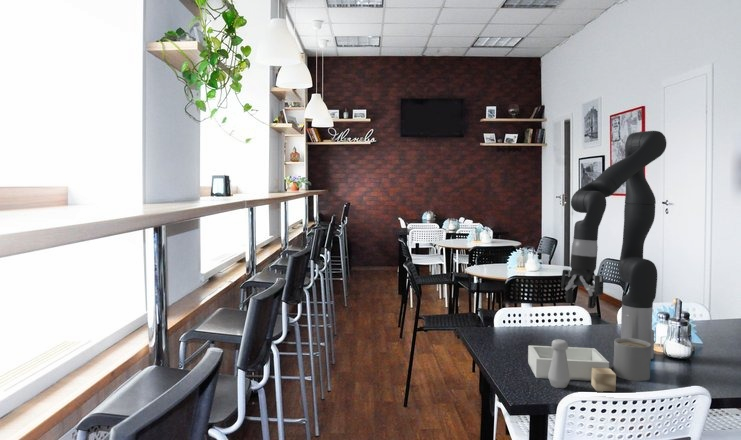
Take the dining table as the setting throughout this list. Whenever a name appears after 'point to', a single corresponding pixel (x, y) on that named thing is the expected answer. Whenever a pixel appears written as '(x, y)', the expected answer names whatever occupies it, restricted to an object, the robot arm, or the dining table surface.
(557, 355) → the salt shaker
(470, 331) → the dining table surface
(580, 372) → the tray
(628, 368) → the coffee mug
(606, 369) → the beech cube
